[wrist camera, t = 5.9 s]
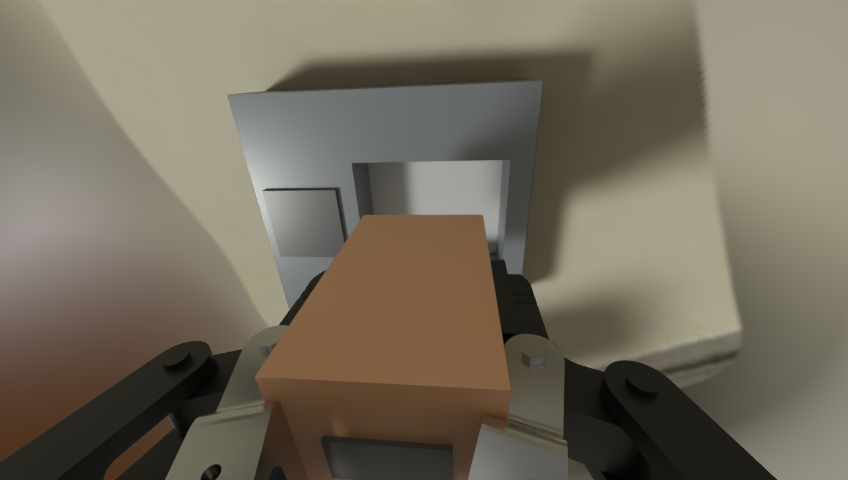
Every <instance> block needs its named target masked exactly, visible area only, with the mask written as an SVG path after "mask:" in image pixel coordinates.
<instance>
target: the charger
mask: <svg viewBox="0 0 848 480" xmlns="http://www.w3.org/2000/svg"><path fill="white" fill-rule="evenodd" d="M255 379H256V381H257V384H258V386H259V389H260V391H261V394H262V396H263V399H264V401H265V403H270V402H275V401H280V402H281V405H282V408H283V410H284V413H285V416H286V419H287V422H288V424H289V427H290V430H291V433H292V435H293V438H294V441H295V444H296V446H297V449H298V452H299V455H300V457H301V460H302V463H303V466H304V468H305V471H306V474H307V477H308V479H309V480H468V477H469V473H470V469H471V465H472V461H473V457H474V453H475V449H476V445H477V441H478V437H479V433H480V429H481V425H482V421H483V418H484V415H485V414H488V415H491V416H494V417H498V418H501V419H504V420H507V421H508V412H509V403H510V395H511V387H510V381H509V375H508V368H507V362H506V356H505V350H504V343H503V337H502V331H501V325H500V318H499V312H498V306H497V300H496V293H495V287H494V281H493V275H492V268H491V262H490V256H489V250H488V243H487V237H486V231H485V225H484V218H483V215H363V217H362V218H361V220H360V221H359V223H358V224H357V226H356V227H355V229H354V230H353V232H352V233H351V235H350V236H349V238H348V239H347V241H346V242H345V243H344V245H343V246H342V248H341V249H340V251H339V252H338V254H337V255H336V257H335V258H334V260H333V261H332V263H331V264H330V266H329V267H328V269H327V270H326V272H325V273H324V275H323V276H322V278H321V279H320V281H319V282H318V283H317V285H316V286H315V288H314V289H313V291H312V292H311V294H310V295H309V297H308V298H307V300H306V301H305V303H304V304H303V306H302V307H301V309H300V310H299V312H298V313H297V315H296V316H295V318H294V319H293V321H292V322H291V323H290V325H289V326H288V328H287V329H286V331H285V332H284V334H283V335H282V337H281V338H280V340H279V341H278V343H277V344H276V346H275V347H274V349H273V350H272V352H271V353H270V355H269V356H268V358H267V359H266V360H265V362H264V363H263V365H262V366H261V368H260V369H259V371H258V372H257V374H256V375H255Z"/></svg>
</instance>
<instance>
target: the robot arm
mask: <svg viewBox="0 0 848 480" xmlns="http://www.w3.org/2000/svg"><path fill="white" fill-rule="evenodd" d="M490 262H491V268H492V275H493V281H494V287H495V293H496V300H497V306H498V312H499V318H500V325H501V331H502V337H503V343H504V350H505V356H506V362H507V368H508V375H509V381H510V387H511V395H510V403H509V412H508V421H507V420H504V419H501V418H498V417H494V416H491V415H488V414H485V415H484V418H483V421H482V425H481V429H480V433H479V437H478V441H477V445H476V449H475V453H474V457H473V461H472V465H471V469H470V473H469V477H468V480H568V458H571V459H573V460H576V461H578V462H580V463H583V464H585V466H586V468H587V469H588V471H589V473H590V474H591V476H592V478H593V479H594V480H777V479H776V478H775V477H774V476H772V475H771V474H770V473H769V472H768V471H767V470H766V469H765V468H764V467H763V466H762V465H761V464H760V463H759V462H757V461H756V460H755V459H754V458H753V457H752V456H751V455H750V454H749V453H748V452H747V451H746V450H745V449H744V448H742V447H741V446H740V445H739V444H738V443H737V442H736V441H735V440H734V439H733V438H732V437H731V436H730V435H729V434H727V433H726V432H725V431H724V430H723V429H722V428H721V427H720V426H719V425H718V424H717V423H716V422H715V421H713V420H712V419H711V418H710V417H709V416H708V415H707V414H706V413H705V412H704V411H703V410H702V409H700V408H699V407H698V406H697V405H696V404H695V403H694V402H693V401H692V400H691V399H690V398H689V397H688V396H686V395H685V393H683V392H682V391H681V390H680V389H679V388H678V387H677V386H676V385H675V384H674V383H673V382H672V381H671V380H669V379H668V378H667V377H666V376H665V375H663V374H662V373H660V372H659V371H657V370H656V369H654V368H652V367H650V366H647V365H645V364H642V363H639V362H634V361H616V362H613V363H612V364H610V365H609V366H608V367H607V368H606V370H605V372H602V371H599V370H595V369H592V368H588V367H585V366H582V365H579V364H576V363H574V362H572V361H570V360H568V359H566V358H565V357H564V356H563V354H562V352H561V350H560V349H559V348H558V347H557V346H556V345H555V344H554V343H553V342H551V341H550V340H549V339H548V336H547V333H546V329H545V326H544V323H543V320H542V317H541V314H540V311H539V308H538V305H537V302H536V299H535V296H534V293H533V290H532V287H531V284H530V283H529V282H528V281H527V280H526V279H525V278H524V277H523V276H522V275H521V274H508V272H507V268H506V264H505V260H504V259H490ZM325 272H326V271H323V272H321V273H320V274H318V275H317V276H315V277H314V278H313V279H312V280H311V281H310V282H309V284H308V285H307V287H306V288H305V290H304V291H303V292H302V294H301V295H300V296H299V299H297V301H296V302H295V303H294V305H293V306H292V308H291V309H290V310H289V312H288V313H287V315H286V316H285V317H284V319H283V320H282V322H281V323H280V324H279V325H278V326H273V327H269V328H267V329H264V330H262V331H260V332H258V333H257V334H255V335H254V336H252V337H251V338H250V339H249V340H248V341H247V343H246V344H245V345H244V347H243V349H242V350H237V351H232V352H227V353H222V354H217V355H213V354H212V351H211V349H210V347H209V345H208V344H207V343H205V342H202V341H192V342H186V343H182V344H179V345H176V346H174V347H172V348H170V349H168V350H166V351H164V352H163V353H161V354H159V355H158V356H156V357H155V358H154V359H152V360H151V361H149V362H148V363H146V364H145V365H143V366H142V367H140V368H139V369H137V370H136V371H135V372H133V373H131V374H130V375H129V376H127V377H126V378H124V379H123V380H121V381H120V382H118V383H117V384H115V385H114V386H113V387H111V388H110V389H108V390H106V391H105V392H103V393H102V394H101V395H99V396H98V397H96V398H95V399H93V400H92V401H90V402H89V403H88V404H86V405H84V406H83V407H81V408H80V409H78V410H77V411H75V412H74V413H73V414H71V415H70V416H68V417H67V418H65V419H64V420H62V421H61V422H59V423H58V424H57V425H55V426H53V427H52V428H50V429H49V430H48V431H46V432H45V433H43V434H42V435H40V436H39V437H37V438H36V439H34V440H33V441H31V442H30V443H28V444H27V445H25V446H24V447H22V448H21V449H20V450H18V451H17V452H15V453H14V454H12V455H11V456H9V457H8V458H6V459H5V460H3V461H2V462H0V480H103V478H104V474H105V472H106V470H107V469H108V467H109V466H110V464H111V463H112V462H113V461H114V460H115V459H116V458H117V457H118V456H120V455H121V454H122V453H123V452H124V451H126V450H127V449H128V448H129V447H130V446H132V444H134V443H135V442H136V441H137V440H139V439H140V438H141V437H142V436H143V435H145V434H146V433H147V432H148V431H149V430H150V429H152V428H153V427H154V426H155V425H157V424H158V423H159V422H160V421H161V420H163V419H164V418H165V417H166V416H167V417H168V419H169V420H170V422H171V424H172V426H173V427H174V429H173V430H172V431H170V432H169V433H168V434H167V435H166V436H165V437H163V438H162V439H161V440H160V441H159V442H158V443H157V444H156V445H154V446H153V447H152V448H151V449H150V450H149V451H148V452H146V453H145V454H144V455H143V456H142V457H141V458H140V459H139V460H137V461H136V462H135V463H134V464H133V465H132V466H131V467H129V468H128V469H127V470H126V471H125V472H124V473H123V474H122V475H120V476H119V477H118V478H117V479H116V480H309V479H308V477H307V474H306V471H305V468H304V466H303V463H302V460H301V457H300V455H299V452H298V449H297V446H296V444H295V441H294V438H293V435H292V433H291V430H290V427H289V424H288V422H287V419H286V416H285V413H284V410H283V408H282V405H281V402H280V401H275V402H270V403H265V401H264V399H263V396H262V394H261V391H260V389H259V386H258V384H257V381H256V379H255V375H256V374H257V372H258V371H259V369H260V368H261V366H262V365H263V363H264V362H265V360H266V359H267V358H268V356H269V355H270V353H271V352H272V350H273V349H274V347H275V346H276V344H277V343H278V341H279V340H280V338H281V337H282V335H283V334H284V332H285V331H286V329H287V328H288V326H289V325H290V323H291V322H292V321H293V319H294V318H295V316H296V315H297V313H298V312H299V310H300V309H301V307H302V306H303V304H304V303H305V301H306V300H307V298H308V297H309V295H310V294H311V292H312V291H313V289H314V288H315V286H316V285H317V283H318V282H319V281H320V279H321V278H322V276H323V275H324V273H325Z"/></svg>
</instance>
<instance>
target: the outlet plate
mask: <svg viewBox="0 0 848 480" xmlns="http://www.w3.org/2000/svg"><path fill="white" fill-rule="evenodd" d="M542 88H543V81H539V80H530V79H525V80H503V81H481V82H458V83H436V84H414V85H391V86H369V87H347V88H325V89H302V90H280V91H261V92H251V93H241V94H231V95H227V96H228V100H229V103H230V107H231V110H232V114H233V117H234V120H235V124H236V127H237V131H238V134H239V138H240V141H241V145H242V148H243V151H244V155H245V158H246V162H247V165H248V169H249V172H250V176H251V179H252V183H253V186H254V189H255V193H256V196H257V200H258V203H259V207H260V210H261V214H262V217H263V220H264V224H265V227H266V231H267V234H268V238H269V241H270V245H271V248H272V252H273V255H274V258H275V262H276V265H277V269H278V272H279V276H280V279H281V283H282V286H283V290H284V293H285V296H286V300H287V303H288V307H289V310H290V309H291V308H292V306H293V305H294V303H295V302H296V301H297V299H299V296H300V295H301V294H302V292H303V291H304V290H305V288H306V287H307V285H308V284H309V282H310V281H311V280H312V279H313V278H314V277H315V276H317V275H318V274H320V273H321V272H323V271H326V270H327V269H328V267H329V266H330V264H331V263H332V261H333V260H334V258H335V257H336V255H337V254H338V252H339V251H340V249H341V248H342V246H343V245H344V243H345V242H346V241H347V239H348V238H349V236H350V235H351V233H352V232H353V230H354V229H355V227H356V226H357V224H358V223H359V221H360V220H361V218H362V217H363V215H483V218H484V225H485V231H486V237H487V243H488V250H489V256H490V259H504V260H505V264H506V268H507V272H508V274H521V275H522V269H523V260H524V251H525V242H526V232H527V223H528V214H529V205H530V196H531V187H532V178H533V169H534V160H535V151H536V142H537V133H538V124H539V115H540V106H541V97H542Z"/></svg>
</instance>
